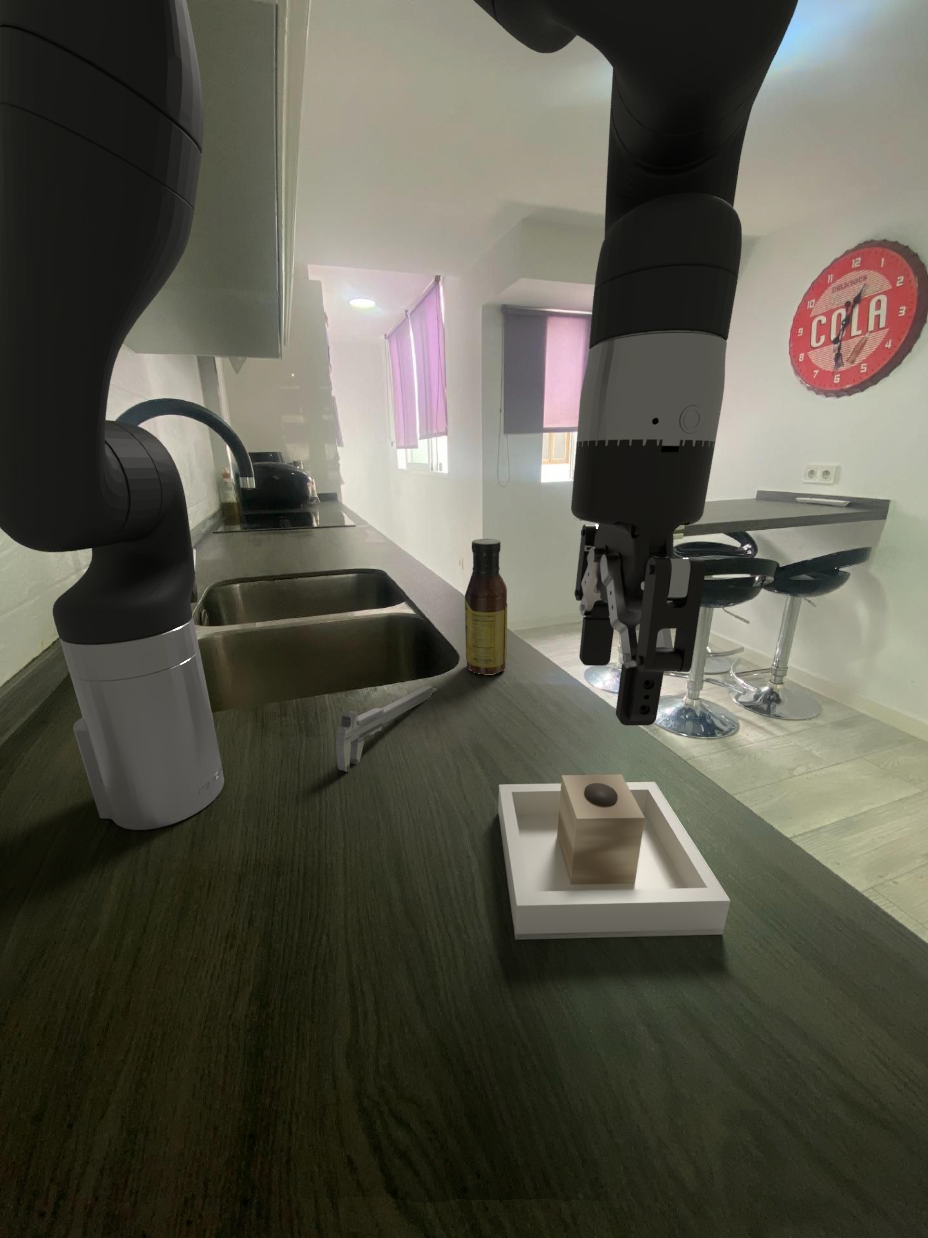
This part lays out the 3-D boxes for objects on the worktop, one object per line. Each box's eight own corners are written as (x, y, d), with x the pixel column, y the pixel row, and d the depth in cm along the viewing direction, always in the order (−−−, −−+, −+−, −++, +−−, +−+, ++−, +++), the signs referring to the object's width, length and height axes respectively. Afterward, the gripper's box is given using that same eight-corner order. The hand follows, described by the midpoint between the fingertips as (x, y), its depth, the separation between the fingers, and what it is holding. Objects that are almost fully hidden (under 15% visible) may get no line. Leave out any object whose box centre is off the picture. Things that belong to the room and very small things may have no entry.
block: (570, 884, 35) (577, 817, 33) (557, 835, 39) (561, 773, 37) (635, 883, 35) (645, 816, 33) (613, 834, 39) (621, 772, 37)
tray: (515, 939, 31) (516, 905, 30) (498, 812, 43) (499, 784, 42) (722, 934, 32) (730, 900, 31) (650, 809, 43) (654, 782, 42)
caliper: (346, 776, 48) (341, 723, 46) (338, 774, 48) (332, 720, 46) (437, 692, 66) (436, 650, 64) (430, 690, 66) (429, 649, 64)
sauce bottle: (480, 657, 76) (481, 535, 70) (513, 667, 73) (518, 539, 66) (456, 671, 71) (455, 540, 65) (491, 682, 68) (494, 545, 61)
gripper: (553, 440, 34) (539, 650, 39) (621, 427, 20) (585, 750, 25) (656, 442, 34) (628, 650, 39) (792, 429, 20) (722, 750, 25)
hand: (611, 689), depth 32 cm, fingers open, 8 cm apart
